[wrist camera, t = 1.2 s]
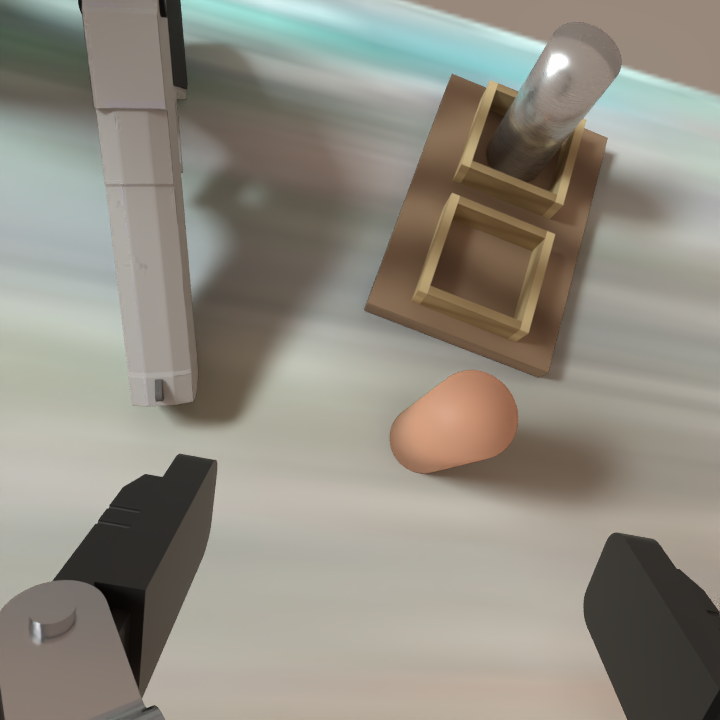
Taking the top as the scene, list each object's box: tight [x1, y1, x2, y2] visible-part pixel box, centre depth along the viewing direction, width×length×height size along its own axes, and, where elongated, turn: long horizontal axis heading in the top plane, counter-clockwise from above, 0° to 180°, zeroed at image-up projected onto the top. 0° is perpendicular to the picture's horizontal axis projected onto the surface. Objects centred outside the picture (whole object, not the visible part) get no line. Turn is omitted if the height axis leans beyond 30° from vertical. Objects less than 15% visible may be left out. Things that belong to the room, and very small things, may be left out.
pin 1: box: [390, 370, 518, 473], centre depth 33 cm, size 4×4×10 cm
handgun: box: [78, 0, 198, 406], centre depth 35 cm, size 4×28×15 cm
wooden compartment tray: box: [364, 74, 608, 377], centre depth 41 cm, size 20×13×4 cm, turn 161°
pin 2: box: [486, 22, 621, 182], centre depth 38 cm, size 4×4×10 cm
